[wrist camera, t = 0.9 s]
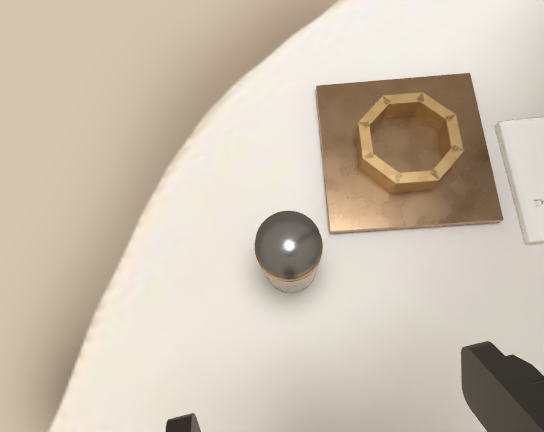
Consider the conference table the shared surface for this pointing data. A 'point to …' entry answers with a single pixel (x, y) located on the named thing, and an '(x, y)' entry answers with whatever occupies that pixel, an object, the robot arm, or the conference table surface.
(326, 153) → the octagon frame base plate
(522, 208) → the external hard drive
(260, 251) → the cylinder
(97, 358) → the conference table surface
